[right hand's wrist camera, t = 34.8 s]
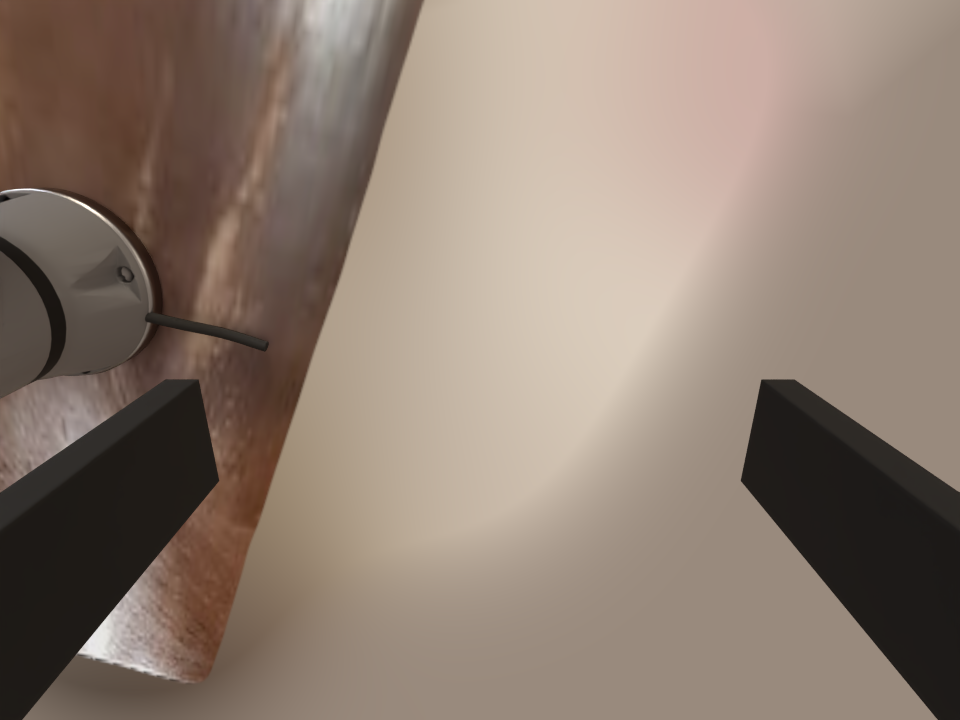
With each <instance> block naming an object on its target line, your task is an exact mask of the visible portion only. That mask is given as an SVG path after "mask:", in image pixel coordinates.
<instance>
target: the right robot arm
mask: <svg viewBox="0 0 960 720" xmlns="http://www.w3.org/2000/svg"><path fill="white" fill-rule="evenodd" d="M161 312H162V291H161V285H160V281H159V277H158V274H157V271H156V268H155V266H154V263H153V261H152V259H151V257H150V255H149V253H148V252H147V250H146V248H145V247H144V245H143V244H142V242H141V241H140V240H139V238H138V237H137V236H136V235H135V233H134V232H133V231H132V230H131V229H130V228H129V227H128V226H127V225H126V224H125V223H124V222H123V221H122V220H121V219H120V218H119V217H117V216H116V215H115V214H113V213H112V212H111V211H109V210H108V209H106V208H105V207H103V206H102V205H100V204H98V203H97V202H95V201H93V200H91V199H89V198H86V197H84V196H82V195H79V194H76V193H73V192H69V191H65V190H60V189H54V188H28V189H13V190H7V191H3V192H0V398H2V397H4V396H6V395H8V394H10V393H12V392H14V391H16V390H18V389H20V388H22V387H24V386H26V385H28V384H30V383H32V382H34V381H36V380H41V379H48V378H53V377H57V376H80V375H91V374H97V373H101V372H104V371H107V370H110V369H112V368H114V367H116V366H118V365H120V364H122V363H124V362H125V361H127V360H129V359H131V358H132V357H134V356H136V355H137V354H138V353H139V352H141V351H142V350H143V349H144V348H145V347H146V346H147V345H148V343H149V342H150V341H151V339H152V338H153V336H154V334H155V332H156V330H157V328H158V325H162V326H167V327H171V328H176V329H180V330H185V331H190V332H195V333H200V334H205V335H210V336H215V337H219V338H223V339H227V340H230V341H234V342H237V343H240V344H243V345H246V346H249V347H252V348H255V349H258V350H262V351H266V350H267V348H268V342H267V341H264V340H261V339H258V338H255V337H252V336H249V335H246V334H242V333H239V332H236V331H232V330H229V329H225V328H221V327H217V326H213V325H208V324H203V323H198V322H193V321H188V320H184V319H179V318H175V317H170V316H166V315H162V314H161ZM218 482H219V477H218V473H217V468H216V463H215V458H214V453H213V448H212V443H211V438H210V433H209V429H208V424H207V419H206V414H205V409H204V404H203V399H202V394H201V389H200V384H199V380H164V381H163V382H161V383H160V384H158V385H157V386H156V387H154V388H153V389H151V390H150V391H148V392H147V393H145V394H144V395H142V396H141V397H139V398H138V399H137V400H135V401H134V402H132V403H131V404H129V405H128V406H126V407H125V408H123V409H122V410H120V411H119V412H118V413H116V414H115V415H113V416H112V417H110V418H109V419H107V420H106V421H104V422H103V423H101V424H100V425H99V426H97V427H96V428H94V429H93V430H91V431H90V432H88V433H87V434H85V435H84V436H82V437H81V438H80V439H78V440H77V441H75V442H74V443H72V444H71V445H69V446H68V447H66V448H65V449H63V450H62V451H61V452H59V453H58V454H56V455H55V456H53V457H52V458H50V459H49V460H47V461H46V462H44V463H43V464H42V465H40V466H39V467H37V468H36V469H34V470H33V471H31V472H30V473H28V474H27V475H26V476H24V477H23V478H21V479H20V480H18V481H17V482H15V483H14V484H12V485H11V486H9V487H8V488H7V489H5V490H4V491H2V492H1V493H0V720H22V719H23V718H24V717H25V716H26V714H27V713H28V712H29V711H30V710H31V708H32V707H33V706H34V705H35V703H36V702H37V701H38V700H39V699H40V697H41V696H42V695H43V694H44V693H45V691H46V690H47V689H48V688H49V687H50V685H51V684H52V683H53V682H54V681H55V679H56V678H57V677H58V676H59V674H60V673H61V672H62V671H63V670H64V668H65V667H66V666H67V665H68V664H69V662H70V661H71V660H72V659H73V657H74V656H75V655H76V654H77V653H78V651H79V650H80V649H81V648H82V647H83V645H84V644H85V643H86V642H87V640H88V639H89V638H90V637H91V636H92V634H93V633H94V632H95V631H96V630H97V628H98V627H99V626H100V625H101V624H102V622H103V621H104V620H105V619H106V617H107V616H108V615H109V614H110V613H111V611H112V610H113V609H114V608H115V607H116V605H117V604H118V603H119V602H120V600H121V599H122V598H123V597H124V596H125V594H126V593H127V592H128V591H129V590H130V588H131V587H132V586H133V585H134V583H135V582H136V581H137V580H138V579H139V577H140V576H141V575H142V574H143V573H144V571H145V570H146V569H147V568H148V567H149V565H150V564H151V563H152V562H153V560H154V559H155V558H156V557H157V556H158V554H159V553H160V552H161V551H162V550H163V548H164V547H165V546H166V545H167V543H168V542H169V541H170V540H171V539H172V537H173V536H174V535H175V534H176V533H177V531H178V530H179V529H180V528H181V526H182V525H183V524H184V523H185V522H186V520H187V519H188V518H189V517H190V516H191V514H192V513H193V512H194V511H195V509H196V508H197V507H198V506H199V505H200V503H201V502H202V501H203V500H204V499H205V497H206V496H207V495H208V494H209V493H210V491H211V490H212V489H213V488H214V486H215V485H216V484H217V483H218ZM741 482H742V483H743V484H744V485H745V486H746V488H747V489H748V490H749V491H750V493H751V494H752V495H753V496H754V497H755V499H756V500H757V501H758V502H759V503H760V505H761V506H762V507H763V508H764V509H765V511H766V512H767V513H768V514H769V516H770V517H771V518H772V519H773V520H774V522H775V523H776V524H777V525H778V526H779V528H780V529H781V530H782V531H783V533H784V534H785V535H786V536H787V537H788V539H789V540H790V541H791V542H792V543H793V545H794V546H795V547H796V548H797V550H798V551H799V552H800V553H801V554H802V556H803V557H804V558H805V559H806V560H807V562H808V563H809V564H810V565H811V567H812V568H813V569H814V570H815V571H816V573H817V574H818V575H819V576H820V577H821V579H822V580H823V581H824V582H825V583H826V585H827V586H828V587H829V588H830V590H831V591H832V592H833V593H834V594H835V596H836V597H837V598H838V599H839V600H840V602H841V603H842V604H843V605H844V607H845V608H846V609H847V610H848V611H849V612H850V614H851V615H852V616H853V617H854V619H855V620H856V621H857V622H858V623H859V625H860V626H861V627H862V628H863V630H864V631H865V632H866V633H867V634H868V636H869V637H870V638H871V639H872V640H873V642H874V643H875V644H876V645H877V647H878V648H879V649H880V650H881V651H882V653H883V654H884V655H885V656H886V657H887V659H888V660H889V661H890V662H891V664H892V665H893V666H894V667H895V668H896V670H897V671H898V672H899V673H900V674H901V676H902V677H903V678H904V679H905V680H906V682H907V683H908V684H909V685H910V687H911V688H912V689H913V690H914V691H915V693H916V694H917V695H918V696H919V697H920V699H921V700H922V701H923V702H924V704H925V705H926V706H927V707H928V708H929V710H930V711H931V712H932V713H933V714H934V716H935V717H936V718H937V719H938V720H960V492H958V491H956V490H955V489H953V488H952V487H951V486H949V485H948V484H946V483H945V482H943V481H942V480H940V479H939V478H937V477H936V476H934V475H933V474H932V473H930V472H929V471H927V470H926V469H924V468H923V467H921V466H920V465H918V464H917V463H915V462H914V461H913V460H911V459H910V458H908V457H907V456H905V455H904V454H902V453H901V452H899V451H898V450H897V449H895V448H894V447H892V446H891V445H889V444H888V443H886V442H885V441H883V440H882V439H880V438H879V437H877V436H876V435H875V434H873V433H872V432H870V431H869V430H867V429H866V428H864V427H863V426H861V425H860V424H859V423H857V422H856V421H854V420H853V419H851V418H850V417H848V416H847V415H845V414H844V413H842V412H841V411H839V410H838V409H837V408H835V407H834V406H832V405H831V404H829V403H828V402H826V401H825V400H823V399H822V398H821V397H819V396H817V395H816V394H815V393H813V392H812V391H810V390H809V389H807V388H806V387H804V386H803V385H802V384H800V383H799V382H797V381H796V380H761V384H760V389H759V394H758V399H757V404H756V409H755V414H754V419H753V424H752V429H751V433H750V438H749V443H748V448H747V453H746V458H745V463H744V468H743V473H742V478H741Z"/></svg>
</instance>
